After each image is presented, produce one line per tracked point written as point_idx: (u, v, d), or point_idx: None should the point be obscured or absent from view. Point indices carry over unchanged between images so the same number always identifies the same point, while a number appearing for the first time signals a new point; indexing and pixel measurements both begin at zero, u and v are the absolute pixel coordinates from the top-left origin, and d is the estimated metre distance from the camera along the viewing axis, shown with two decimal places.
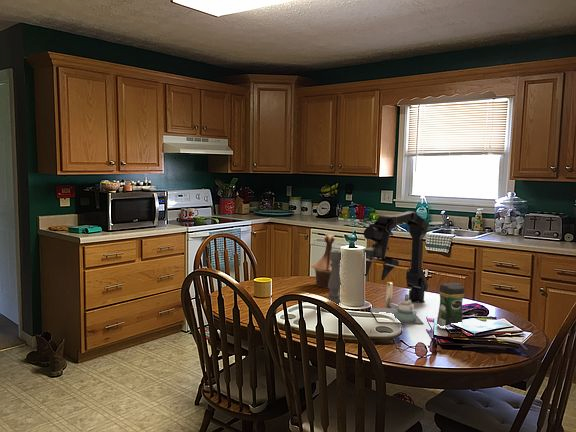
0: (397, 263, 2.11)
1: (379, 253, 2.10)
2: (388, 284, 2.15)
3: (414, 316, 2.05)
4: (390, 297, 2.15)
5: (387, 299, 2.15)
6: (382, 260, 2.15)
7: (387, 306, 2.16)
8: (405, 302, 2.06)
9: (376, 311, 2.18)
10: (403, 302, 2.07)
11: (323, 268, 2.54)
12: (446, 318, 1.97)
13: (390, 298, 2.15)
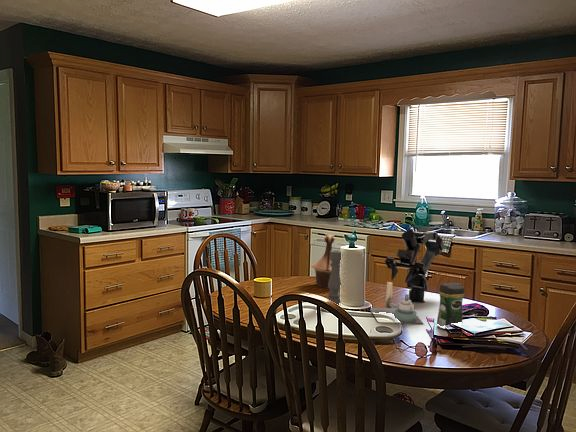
0: (425, 271, 2.21)
1: (412, 255, 2.21)
2: (388, 284, 2.15)
3: (414, 316, 2.05)
4: (390, 297, 2.15)
5: (387, 299, 2.15)
6: (410, 266, 2.24)
7: (387, 306, 2.16)
8: (405, 302, 2.06)
9: (376, 311, 2.18)
10: (403, 302, 2.07)
11: (323, 268, 2.54)
12: (446, 318, 1.97)
13: (390, 298, 2.15)
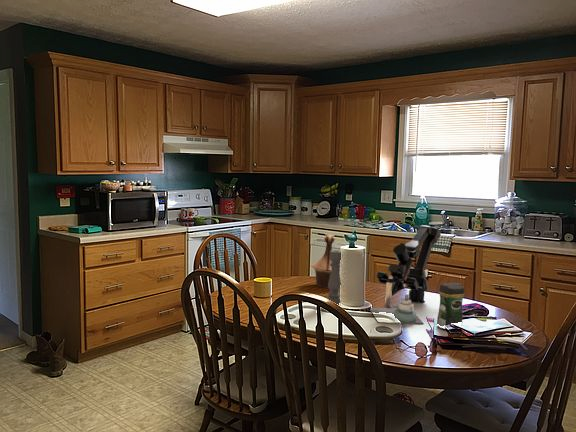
0: (417, 286, 2.16)
1: (404, 270, 2.16)
2: (387, 284, 2.14)
3: (414, 316, 2.05)
4: (390, 297, 2.15)
5: (386, 299, 2.15)
6: None
7: (386, 306, 2.15)
8: (405, 302, 2.06)
9: (376, 311, 2.18)
10: (403, 302, 2.06)
11: (323, 268, 2.54)
12: (446, 318, 1.97)
13: (389, 298, 2.15)
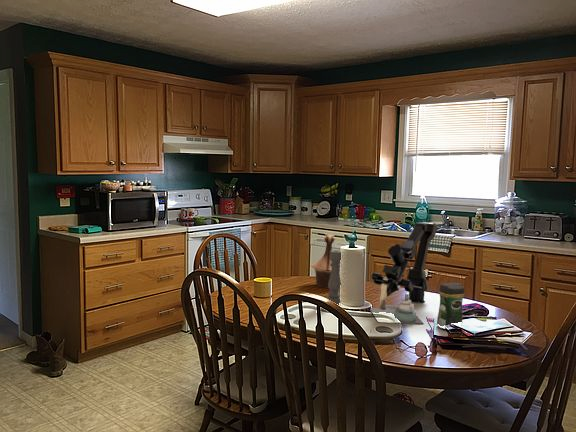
0: (412, 288, 2.13)
1: (399, 272, 2.13)
2: (383, 286, 2.11)
3: (414, 316, 2.05)
4: None
5: (382, 301, 2.12)
6: (397, 282, 2.16)
7: (383, 308, 2.12)
8: (407, 302, 2.06)
9: (376, 311, 2.18)
10: (405, 302, 2.06)
11: (323, 268, 2.54)
12: (446, 318, 1.97)
13: (385, 300, 2.12)
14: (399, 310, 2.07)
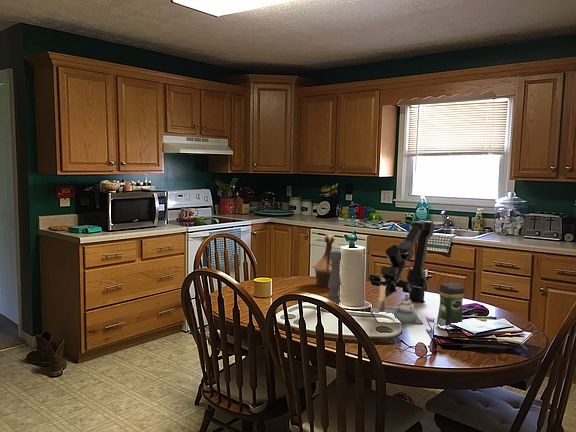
0: (410, 289, 2.11)
1: (396, 273, 2.11)
2: (383, 287, 2.08)
3: (414, 316, 2.05)
4: None
5: (382, 303, 2.09)
6: (394, 284, 2.14)
7: (382, 310, 2.09)
8: (408, 302, 2.06)
9: (376, 311, 2.18)
10: (406, 303, 2.06)
11: (323, 268, 2.54)
12: (446, 318, 1.97)
13: (384, 301, 2.10)
14: (400, 311, 2.06)
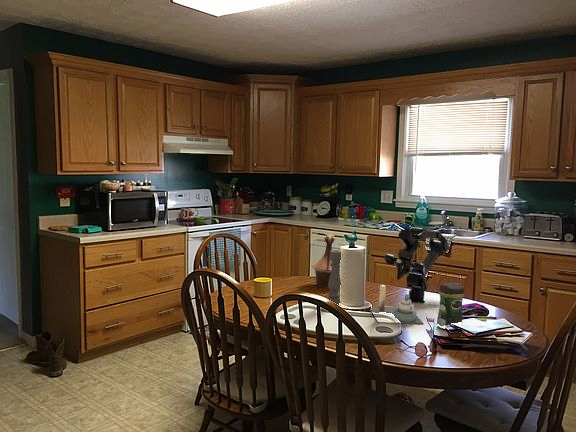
0: (424, 271, 2.25)
1: (413, 256, 2.23)
2: (383, 287, 2.08)
3: (414, 316, 2.05)
4: None
5: (382, 303, 2.09)
6: None
7: (382, 310, 2.09)
8: (408, 302, 2.06)
9: (376, 311, 2.18)
10: (406, 303, 2.06)
11: (323, 268, 2.54)
12: (446, 318, 1.97)
13: (384, 301, 2.10)
14: (400, 311, 2.06)
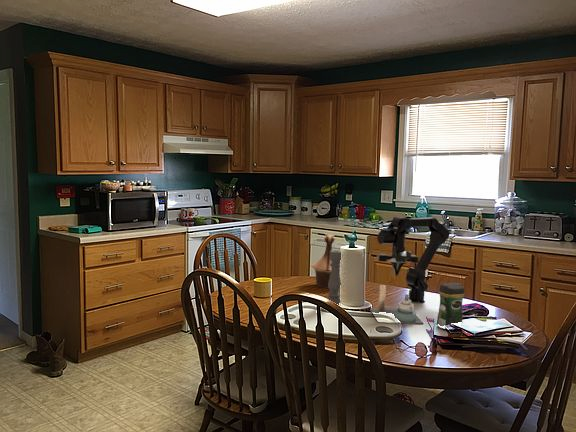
0: None
1: None
2: (383, 287, 2.08)
3: (414, 316, 2.05)
4: None
5: (382, 303, 2.09)
6: None
7: (382, 310, 2.09)
8: (408, 302, 2.06)
9: (376, 311, 2.18)
10: (406, 303, 2.06)
11: (323, 268, 2.54)
12: (446, 318, 1.97)
13: (384, 301, 2.10)
14: (400, 311, 2.06)
